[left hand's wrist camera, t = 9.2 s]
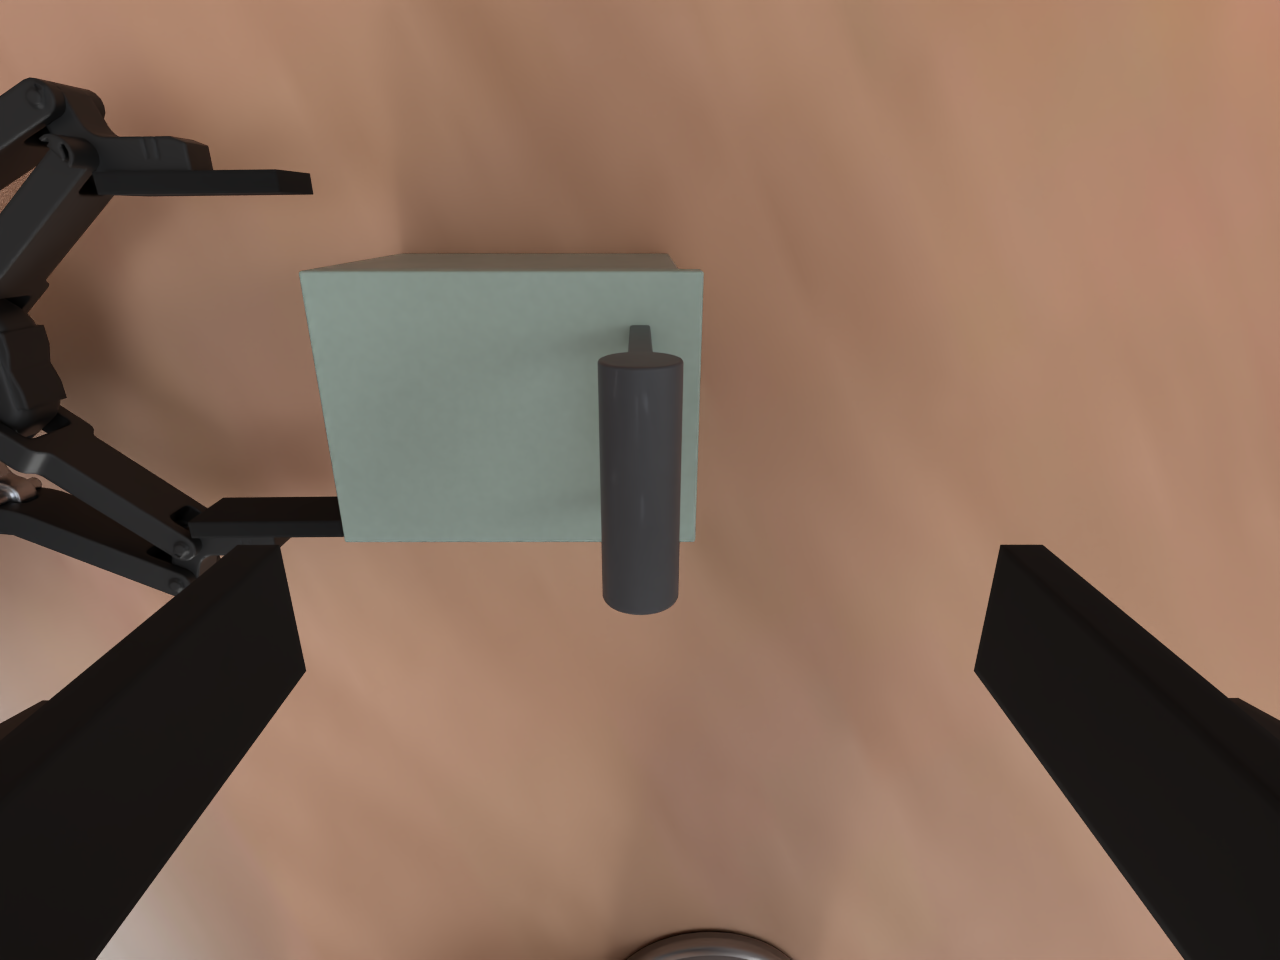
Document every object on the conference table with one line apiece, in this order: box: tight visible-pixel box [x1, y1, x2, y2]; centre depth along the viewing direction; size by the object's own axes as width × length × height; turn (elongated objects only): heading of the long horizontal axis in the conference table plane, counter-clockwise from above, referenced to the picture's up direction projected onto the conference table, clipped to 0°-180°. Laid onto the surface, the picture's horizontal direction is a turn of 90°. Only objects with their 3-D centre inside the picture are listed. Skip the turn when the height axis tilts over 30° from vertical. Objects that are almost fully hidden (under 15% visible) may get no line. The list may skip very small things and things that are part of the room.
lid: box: [299, 269, 704, 615], centre depth 22 cm, size 14×10×9 cm
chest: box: [315, 254, 678, 269], centre depth 30 cm, size 13×10×10 cm
